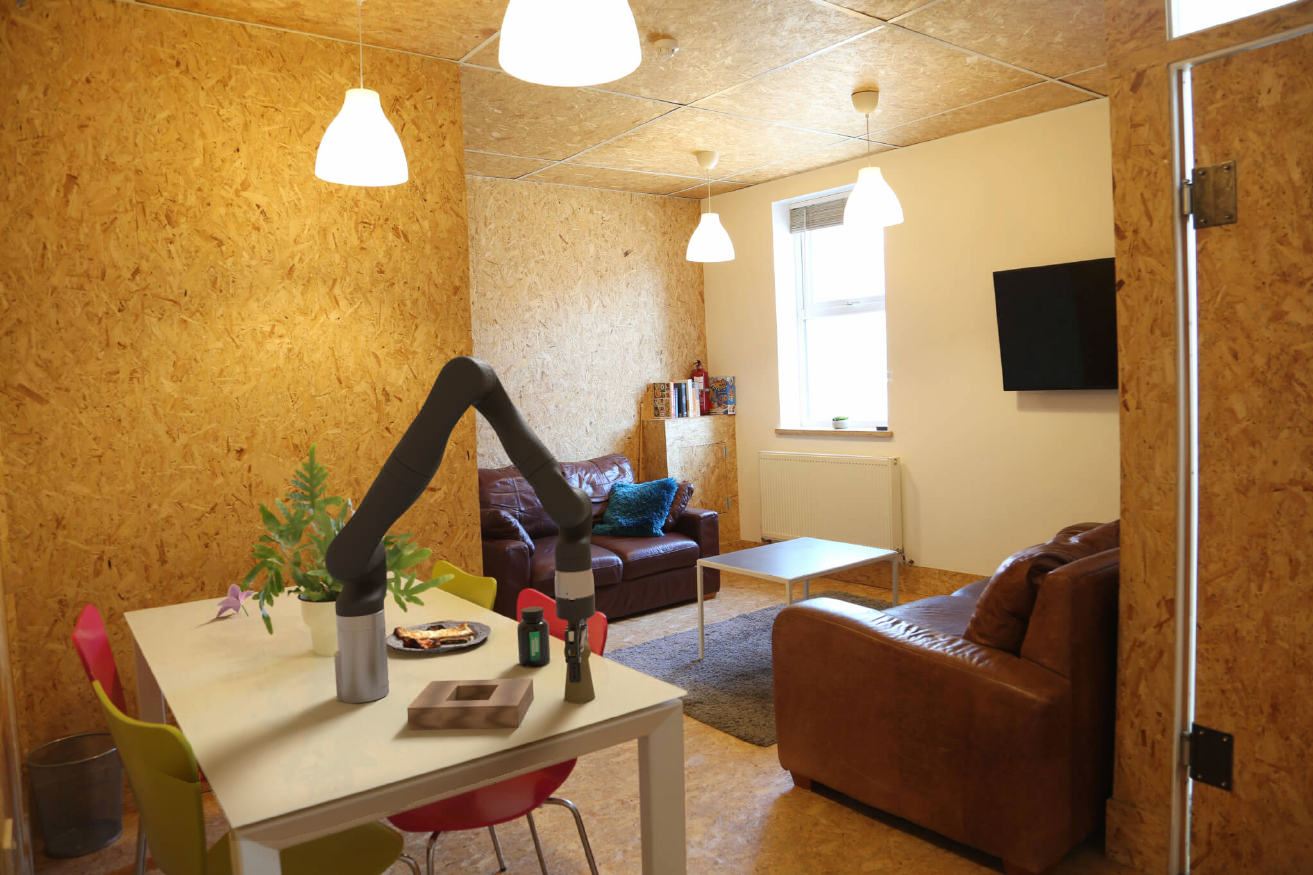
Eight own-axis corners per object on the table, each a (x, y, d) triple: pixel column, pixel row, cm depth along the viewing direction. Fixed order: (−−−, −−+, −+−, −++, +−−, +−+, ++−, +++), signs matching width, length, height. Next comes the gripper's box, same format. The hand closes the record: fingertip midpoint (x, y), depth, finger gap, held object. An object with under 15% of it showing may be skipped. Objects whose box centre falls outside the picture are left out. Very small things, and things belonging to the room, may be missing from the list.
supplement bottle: (541, 668, 184) (539, 614, 183) (513, 666, 186) (510, 612, 185) (555, 658, 190) (553, 605, 190) (528, 656, 192) (525, 604, 192)
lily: (263, 611, 249) (247, 583, 250) (270, 602, 240) (253, 573, 240) (222, 632, 241) (206, 603, 242) (227, 624, 232) (210, 594, 233)
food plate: (383, 662, 193) (383, 646, 193) (385, 635, 215) (385, 621, 215) (495, 651, 200) (495, 636, 200) (486, 626, 222) (486, 613, 222)
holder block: (408, 729, 153) (407, 707, 153) (432, 700, 167) (431, 680, 167) (518, 727, 152) (517, 705, 152) (533, 698, 166) (532, 678, 166)
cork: (566, 705, 162) (564, 648, 161) (561, 694, 168) (559, 639, 167) (598, 700, 163) (595, 644, 163) (591, 690, 169) (589, 636, 169)
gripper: (561, 583, 172) (565, 663, 173) (549, 601, 157) (553, 687, 158) (598, 582, 171) (601, 662, 172) (589, 600, 157) (593, 686, 158)
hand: (578, 674), depth 165 cm, fingers open, 8 cm apart
